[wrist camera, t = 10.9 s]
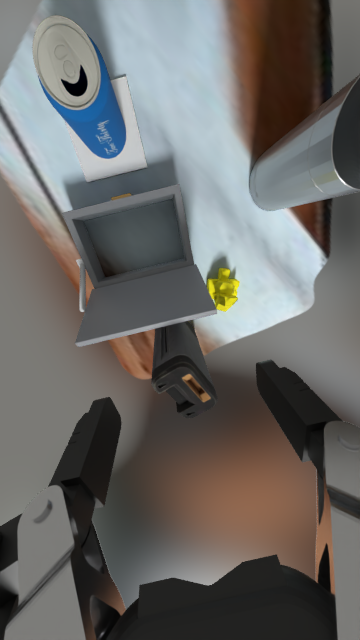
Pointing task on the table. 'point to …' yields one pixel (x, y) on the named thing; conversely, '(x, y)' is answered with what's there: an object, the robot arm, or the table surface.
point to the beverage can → (79, 85)
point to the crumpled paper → (223, 290)
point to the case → (136, 278)
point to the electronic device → (182, 369)
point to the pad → (131, 152)
